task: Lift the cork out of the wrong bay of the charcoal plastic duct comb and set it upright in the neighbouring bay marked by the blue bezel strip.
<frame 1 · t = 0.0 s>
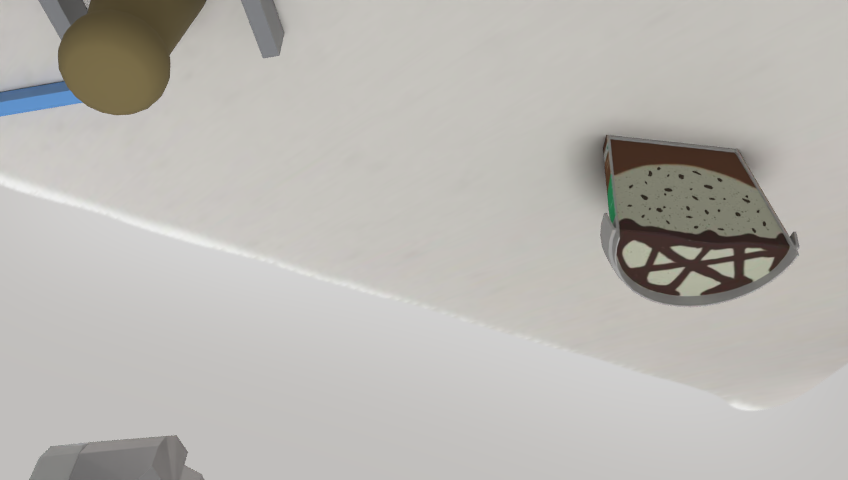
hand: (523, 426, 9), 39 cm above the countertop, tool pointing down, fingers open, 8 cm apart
food container: (656, 174, 58), on the countertop
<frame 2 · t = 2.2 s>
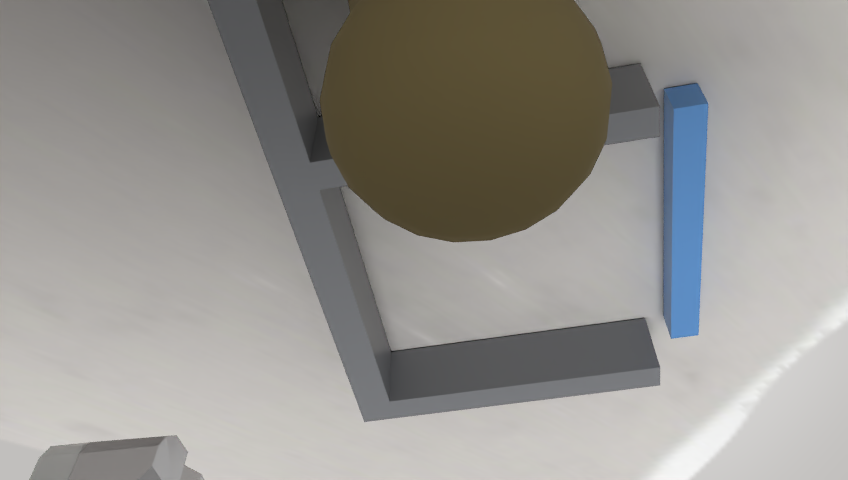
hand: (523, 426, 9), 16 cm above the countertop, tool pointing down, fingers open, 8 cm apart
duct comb: (478, 105, 25), on the countertop
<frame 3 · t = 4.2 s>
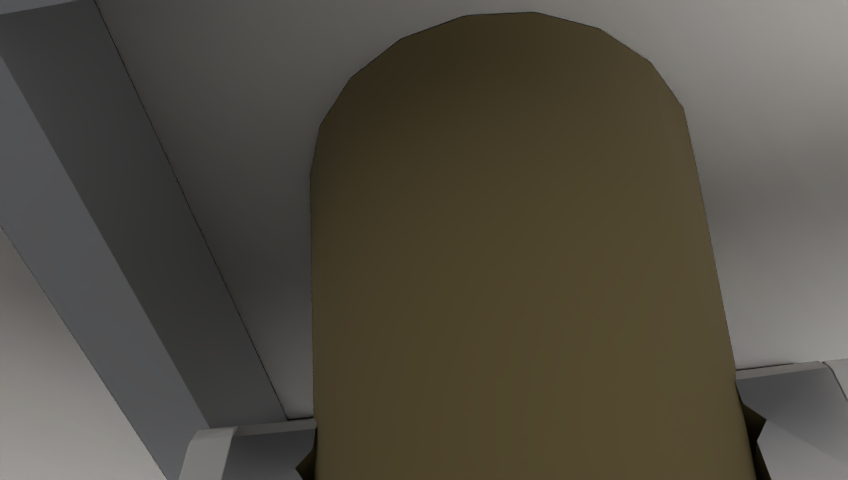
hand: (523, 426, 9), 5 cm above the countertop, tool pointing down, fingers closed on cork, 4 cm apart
cork: (499, 184, 13), on the countertop, touching gripper
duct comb: (534, 409, 16), on the countertop
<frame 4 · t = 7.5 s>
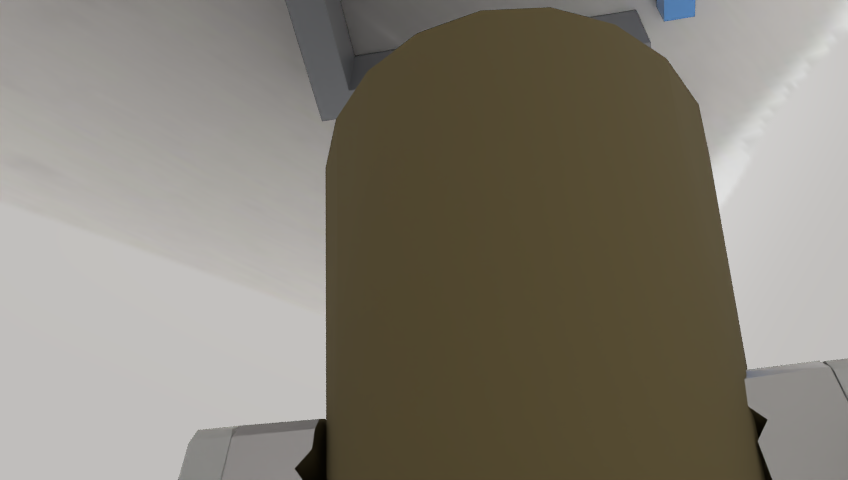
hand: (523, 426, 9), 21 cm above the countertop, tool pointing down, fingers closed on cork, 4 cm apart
cork: (513, 179, 13), point 16 cm above the countertop, touching gripper
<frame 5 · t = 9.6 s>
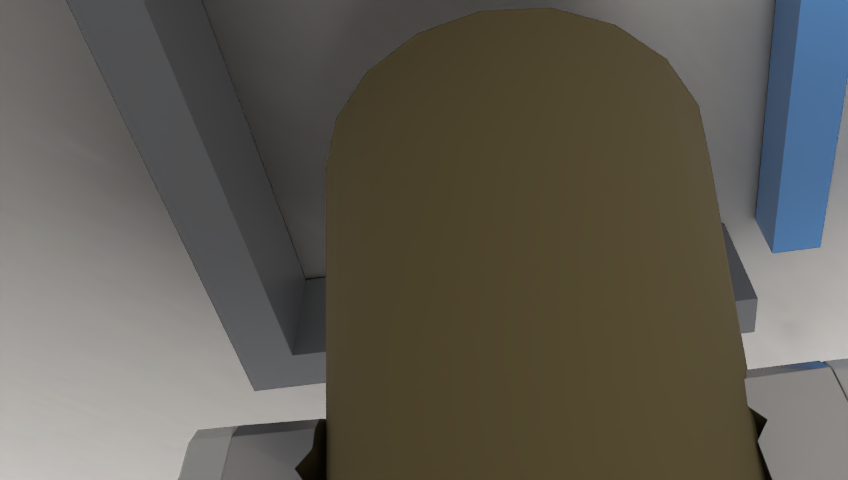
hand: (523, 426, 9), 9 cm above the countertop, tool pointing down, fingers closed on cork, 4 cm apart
cork: (513, 179, 13), point 4 cm above the countertop, touching gripper
when the fingers open (6 cm above the countertop, at t = 11.2 s): cork stays where it is, on the countertop.
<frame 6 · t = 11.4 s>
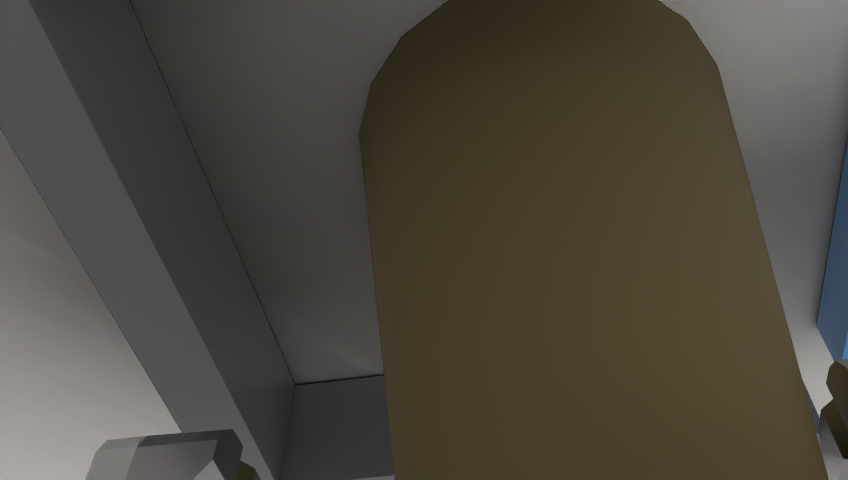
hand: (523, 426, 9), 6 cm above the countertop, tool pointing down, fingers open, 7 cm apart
cork: (539, 142, 14), on the countertop
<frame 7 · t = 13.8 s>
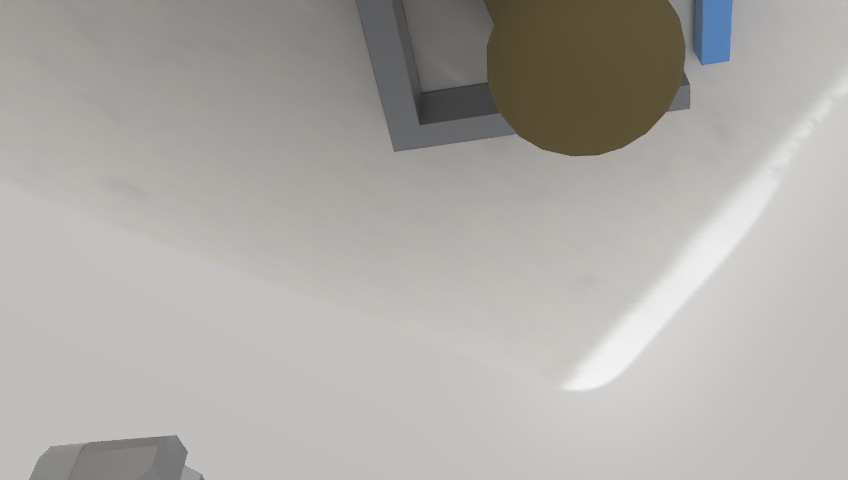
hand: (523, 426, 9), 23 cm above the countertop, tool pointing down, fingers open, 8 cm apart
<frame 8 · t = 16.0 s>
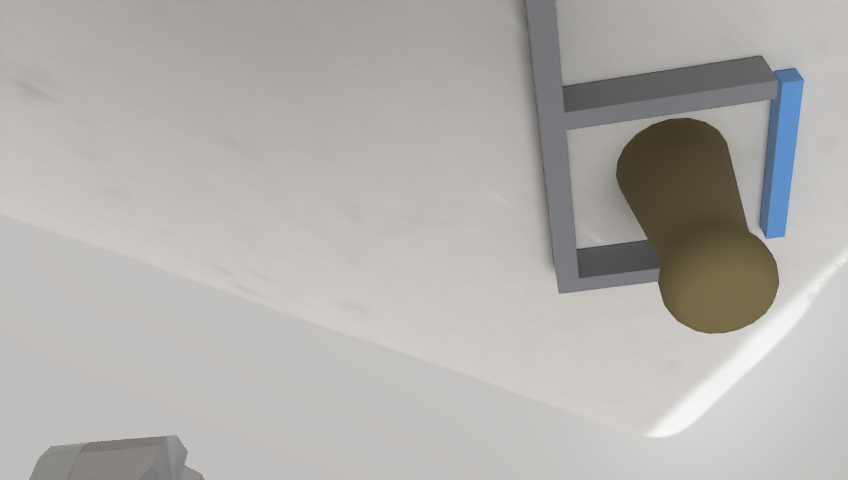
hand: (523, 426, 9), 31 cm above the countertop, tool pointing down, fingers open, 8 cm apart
cork: (671, 163, 45), on the countertop
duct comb: (658, 80, 41), on the countertop
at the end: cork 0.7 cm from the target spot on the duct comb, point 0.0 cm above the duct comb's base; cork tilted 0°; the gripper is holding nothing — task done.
